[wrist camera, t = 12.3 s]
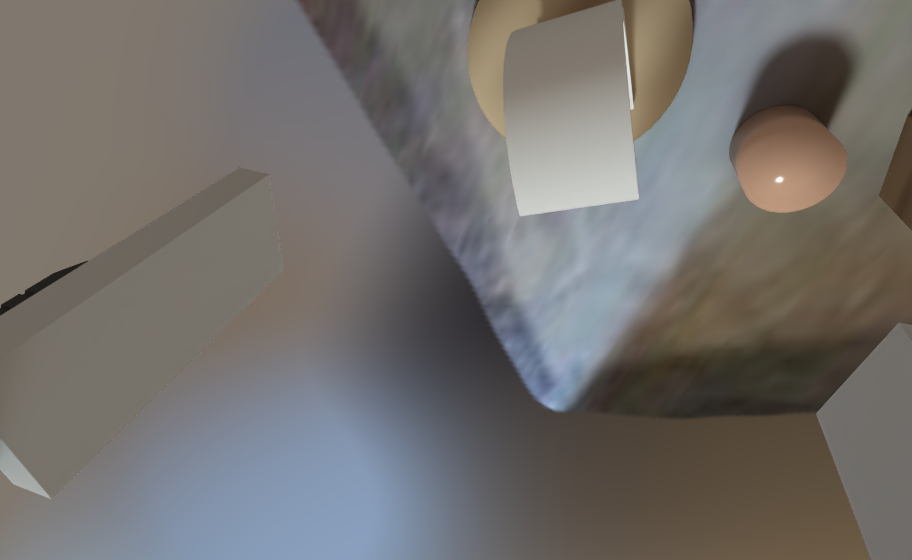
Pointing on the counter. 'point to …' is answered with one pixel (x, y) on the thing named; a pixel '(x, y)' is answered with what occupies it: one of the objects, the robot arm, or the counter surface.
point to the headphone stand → (570, 112)
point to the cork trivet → (648, 38)
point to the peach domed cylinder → (786, 159)
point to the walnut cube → (900, 177)
